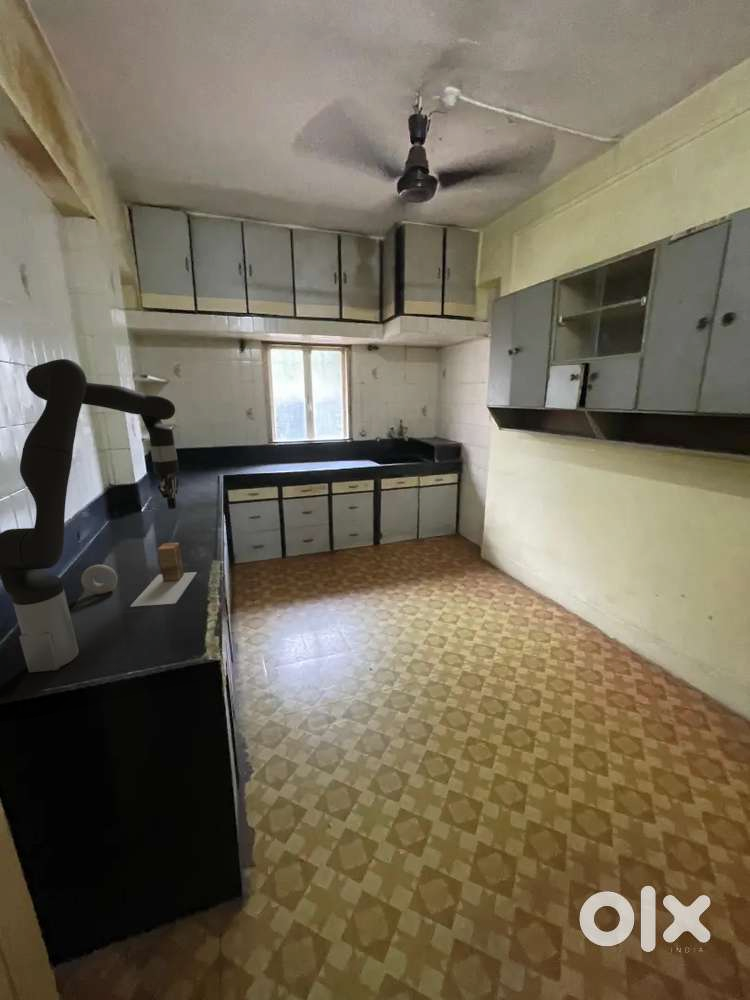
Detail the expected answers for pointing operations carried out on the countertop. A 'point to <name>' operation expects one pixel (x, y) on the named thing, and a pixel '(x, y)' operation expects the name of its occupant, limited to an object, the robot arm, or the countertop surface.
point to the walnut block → (171, 562)
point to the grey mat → (163, 591)
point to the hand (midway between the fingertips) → (172, 508)
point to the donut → (95, 587)
